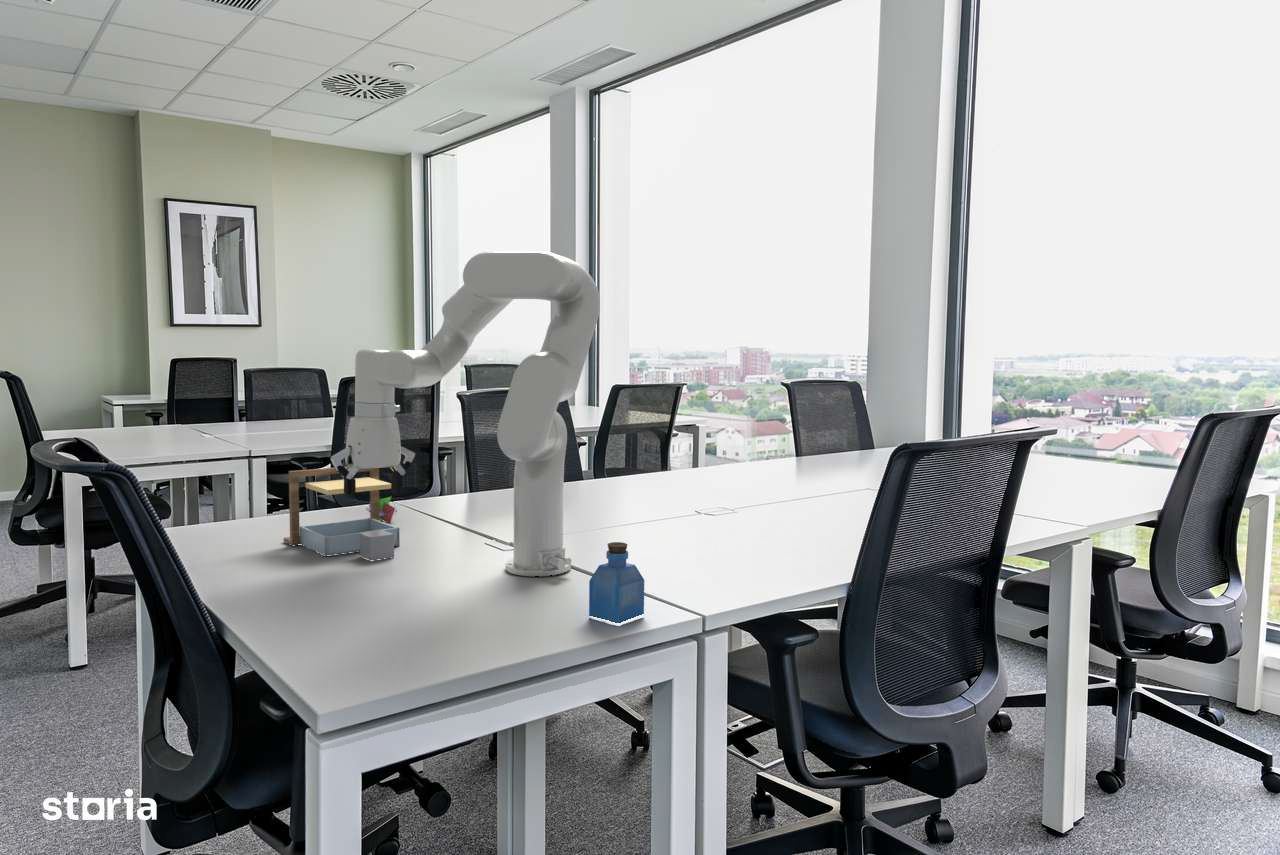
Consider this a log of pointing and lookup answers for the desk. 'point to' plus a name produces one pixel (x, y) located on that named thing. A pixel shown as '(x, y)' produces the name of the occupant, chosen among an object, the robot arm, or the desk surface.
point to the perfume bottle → (616, 587)
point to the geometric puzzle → (385, 509)
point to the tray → (342, 535)
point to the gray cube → (377, 545)
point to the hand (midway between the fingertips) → (373, 495)
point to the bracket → (295, 485)
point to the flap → (338, 485)
